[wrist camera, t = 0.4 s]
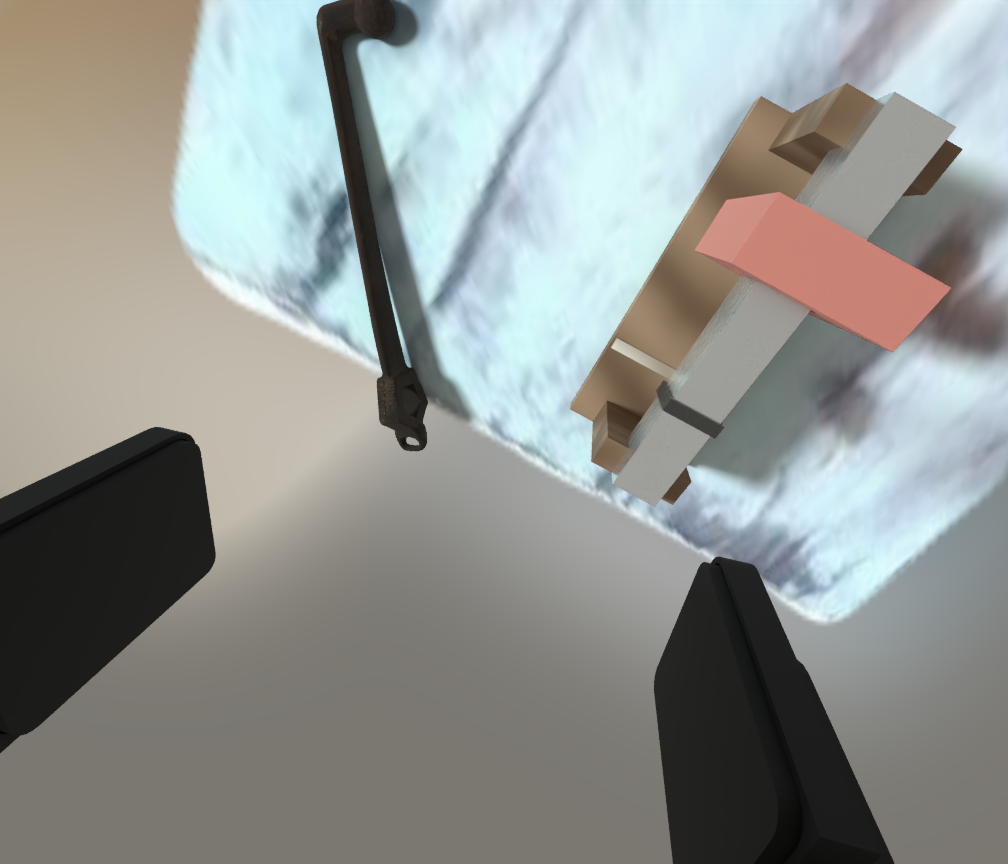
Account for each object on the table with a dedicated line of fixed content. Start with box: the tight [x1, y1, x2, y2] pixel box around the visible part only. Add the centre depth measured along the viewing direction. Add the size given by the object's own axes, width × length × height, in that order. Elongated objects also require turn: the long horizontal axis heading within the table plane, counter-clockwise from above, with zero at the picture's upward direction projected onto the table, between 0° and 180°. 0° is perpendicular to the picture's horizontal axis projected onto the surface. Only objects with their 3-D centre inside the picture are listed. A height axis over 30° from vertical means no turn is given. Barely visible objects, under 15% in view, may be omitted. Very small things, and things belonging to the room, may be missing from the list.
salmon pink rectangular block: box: [695, 192, 951, 352], centre depth 24 cm, size 3×8×9 cm, turn 64°
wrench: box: [317, 0, 428, 451], centre depth 34 cm, size 5×5×30 cm
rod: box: [612, 92, 956, 506], centre depth 26 cm, size 22×3×3 cm, turn 154°
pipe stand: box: [570, 83, 962, 505], centre depth 30 cm, size 22×10×8 cm, turn 154°
